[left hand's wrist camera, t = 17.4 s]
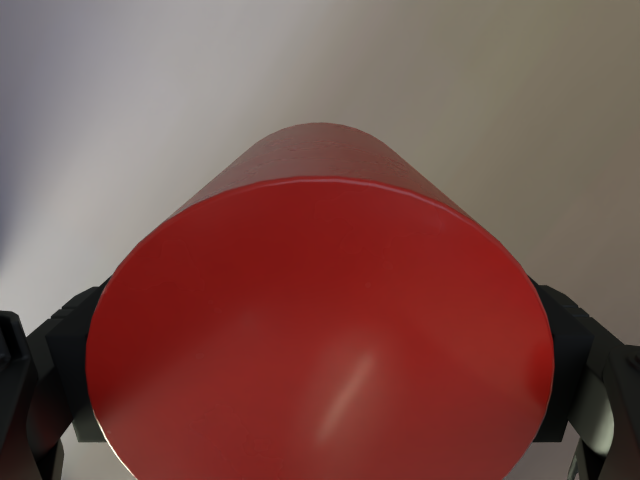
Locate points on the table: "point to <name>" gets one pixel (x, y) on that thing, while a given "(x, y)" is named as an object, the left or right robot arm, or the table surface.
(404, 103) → the table surface
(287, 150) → the canister
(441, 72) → the table surface
